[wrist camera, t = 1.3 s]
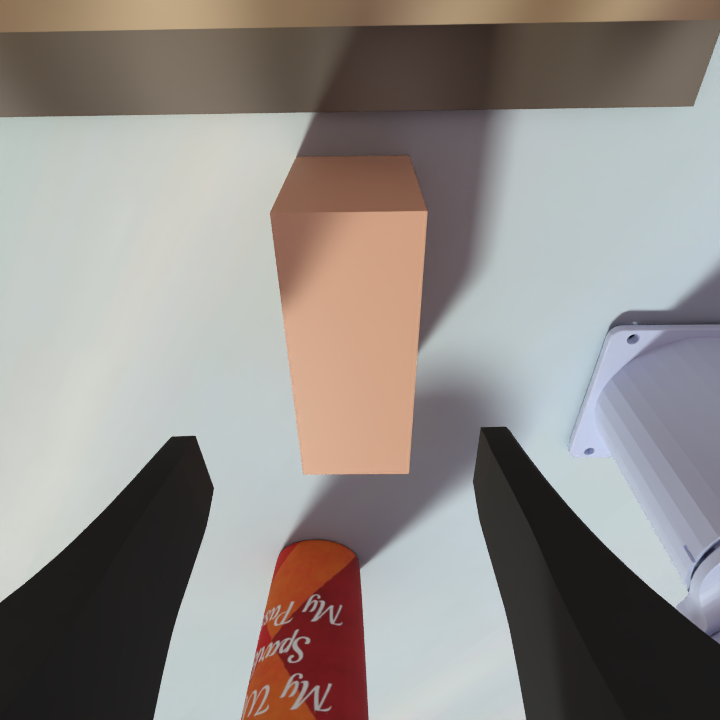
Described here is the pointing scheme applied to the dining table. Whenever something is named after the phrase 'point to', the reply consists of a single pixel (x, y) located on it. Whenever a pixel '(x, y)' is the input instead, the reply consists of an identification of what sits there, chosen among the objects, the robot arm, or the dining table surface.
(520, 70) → the wooden stand
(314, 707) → the paper cup
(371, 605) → the dining table surface
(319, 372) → the block
